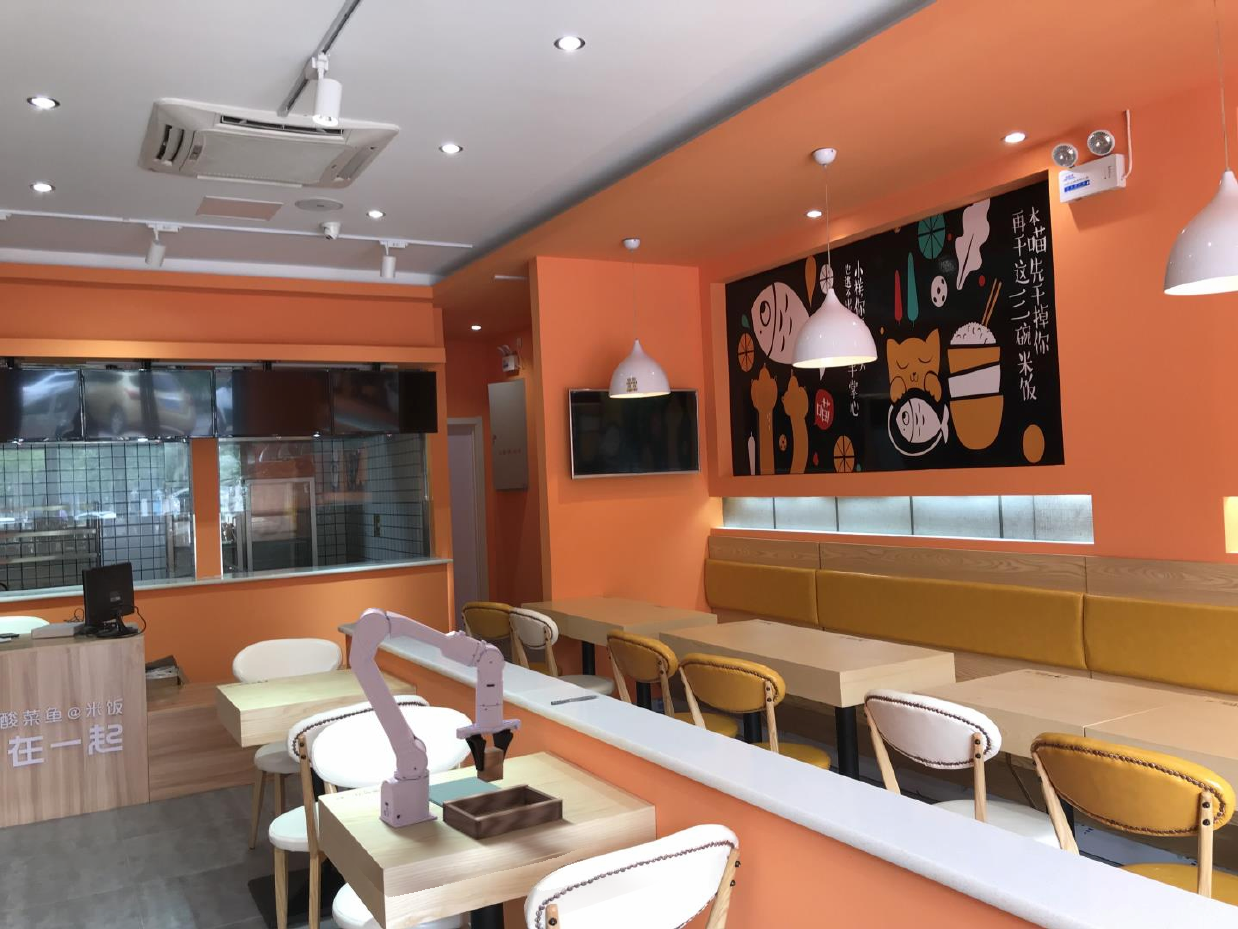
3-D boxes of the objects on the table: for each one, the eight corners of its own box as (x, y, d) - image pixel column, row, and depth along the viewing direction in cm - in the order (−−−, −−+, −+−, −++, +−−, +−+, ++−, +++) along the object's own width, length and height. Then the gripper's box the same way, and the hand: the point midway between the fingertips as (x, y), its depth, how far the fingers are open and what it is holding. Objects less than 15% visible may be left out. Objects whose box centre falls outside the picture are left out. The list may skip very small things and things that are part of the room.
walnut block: (486, 782, 200) (486, 753, 201) (477, 778, 204) (477, 749, 204) (503, 779, 203) (503, 750, 203) (493, 774, 206) (493, 746, 206)
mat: (446, 809, 204) (446, 807, 204) (412, 791, 217) (412, 789, 217) (511, 794, 214) (511, 792, 214) (475, 778, 227) (475, 776, 227)
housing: (477, 840, 186) (477, 820, 186) (442, 820, 197) (442, 801, 197) (562, 818, 199) (562, 799, 199) (525, 801, 210) (525, 783, 210)
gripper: (467, 711, 196) (467, 779, 196) (528, 702, 205) (528, 766, 205) (451, 705, 202) (451, 771, 202) (511, 696, 211) (511, 759, 210)
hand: (489, 768), depth 204 cm, fingers closed on walnut block, 4 cm apart
